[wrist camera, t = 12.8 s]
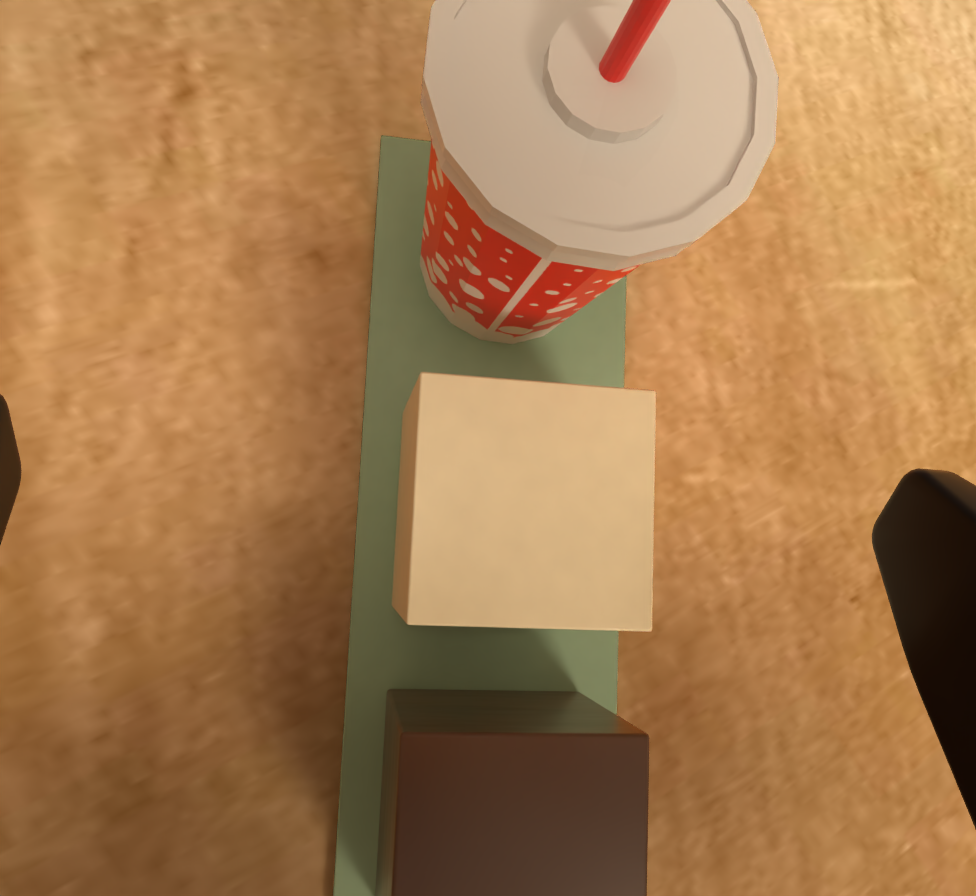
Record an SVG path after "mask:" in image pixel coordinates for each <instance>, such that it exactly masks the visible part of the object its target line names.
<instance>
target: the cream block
mask: <svg viewBox="0 0 976 896" xmlns="http://www.w3.org/2000/svg"><path fill="white" fill-rule="evenodd" d="M655 426H656V391H654V390H645V389H632V388H619V387H607V386H594V385H582V384H569V383H557V382H544V381H531V380H519V379H506V378H494V377H481V376H469V375H456V374H443V373H431V372H421V373H420V375H419V377H418V379H417V382H416V384H415V386H414V388H413V391H412V393H411V395H410V397H409V400H408V402H407V404H406V407H405V409H404V411H403V415H402V432H401V450H400V467H399V485H398V502H397V520H396V537H395V555H394V572H393V590H392V606H393V608H394V609H395V610H396V611H397V613H398V614H399V615H400V616H401V617H402V619H403V620H404V621H405V622H406V624H408V625H428V626H464V627H499V628H535V629H570V630H605V631H641V632H650V631H652V599H653V542H654V484H655Z"/></svg>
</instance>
